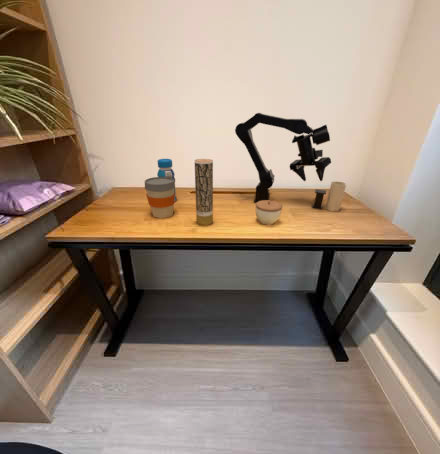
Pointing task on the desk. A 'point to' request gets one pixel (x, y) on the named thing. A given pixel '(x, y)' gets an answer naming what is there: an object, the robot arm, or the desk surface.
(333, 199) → the pen pot
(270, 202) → the trinket box
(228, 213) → the desk surface
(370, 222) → the desk surface
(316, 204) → the leg piece
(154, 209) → the reusable coffee cup
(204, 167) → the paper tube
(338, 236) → the desk surface
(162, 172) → the beverage bottle
